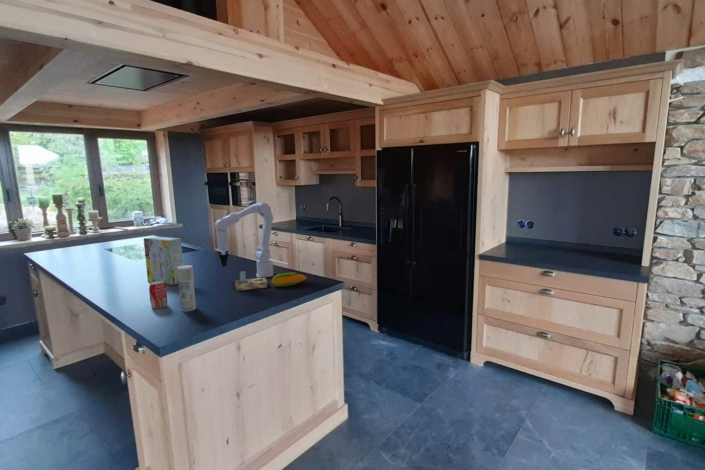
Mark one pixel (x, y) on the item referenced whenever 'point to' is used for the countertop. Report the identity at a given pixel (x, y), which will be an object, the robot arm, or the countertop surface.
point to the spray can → (186, 287)
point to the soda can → (158, 294)
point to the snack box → (163, 259)
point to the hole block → (251, 284)
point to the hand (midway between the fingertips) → (224, 264)
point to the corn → (287, 279)
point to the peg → (242, 277)
